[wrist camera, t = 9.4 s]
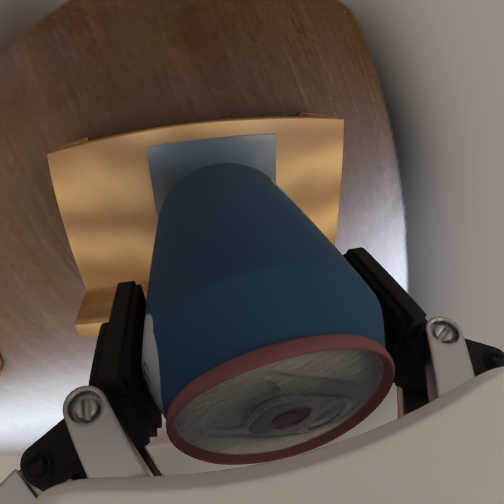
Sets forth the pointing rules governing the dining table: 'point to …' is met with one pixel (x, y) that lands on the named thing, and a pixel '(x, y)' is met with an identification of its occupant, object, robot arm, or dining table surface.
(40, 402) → the dining table surface
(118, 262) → the wooden block with lip
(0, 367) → the sauce bottle
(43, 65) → the dining table surface
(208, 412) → the soda can
